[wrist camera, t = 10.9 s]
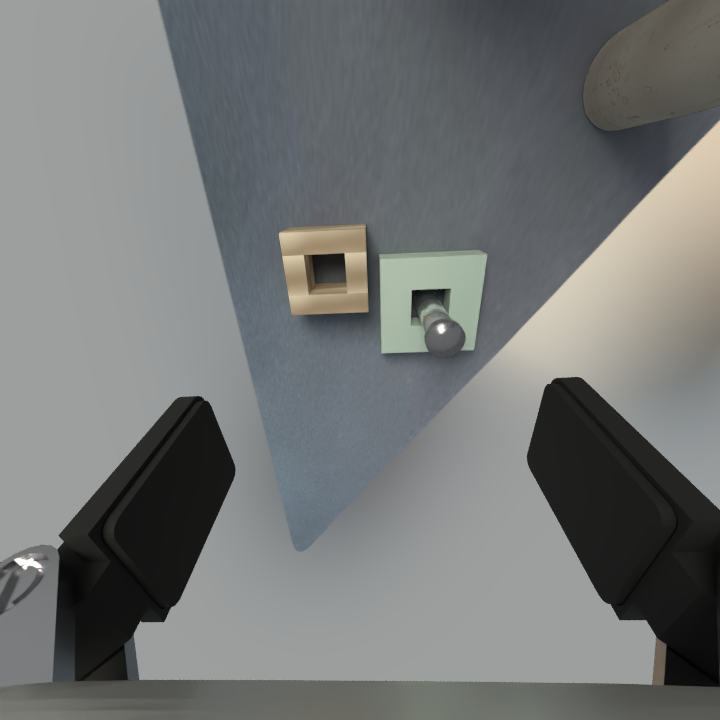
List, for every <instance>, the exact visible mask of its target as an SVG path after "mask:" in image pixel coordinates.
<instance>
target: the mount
mask: <svg viewBox="0 0 720 720" xmlns="http://www.w3.org/2000/svg"><path fill="white" fill-rule="evenodd" d="M279 239H280V245H281V251H282V257H283V263H284V270H285V276H286V282H287V288H288V294H289V301H290V307H291V313H292V315H307V314H333V313H358V312H368V277H367V250H366V224H354V225H334V226H315V227H295V228H288V229H286V230H284V231H282V232H280V233H279ZM337 253H345V267H346V281H347V282H338V283H315V278H314V269H313V261H312V255H316V254H337Z"/></svg>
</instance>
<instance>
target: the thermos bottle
mask: <svg viewBox="0 0 720 720" xmlns="http://www.w3.org/2000/svg"><path fill="white" fill-rule="evenodd" d="M583 104H584V109H585V112H586V114H587V117H588V118H589V120H590V121H591V122H592V123H593V124H594V125H595V126H597V127H598V128H600V129H603V130H608V131H616V130H622V129H627V128H631V127H636V126H640V125H644V124H648V123H652V122H657V121H662V120H666V119H670V118H675V117H679V116H684V115H688V114H692V113H696V112H700V111H703V110H707V109H710V108H713V107H717V106H720V0H669V1H667V2H666V3H664V4H663V5H661V6H659V7H658V8H656V9H654V10H653V11H651V12H650V13H648V14H646V15H645V16H643V17H642V18H640V19H638V20H637V21H635V22H634V23H632V24H630V25H629V26H627V27H625V28H624V29H622V30H621V31H619V32H617V33H616V34H615V35H614V36H613V37H612V38H610V39H609V40H608V41H607V42H606V44H605V45H604V46H603V47H602V48H601V49H600V51H599V52H598V54H597V55H596V57H595V58H594V60H593V62H592V64H591V66H590V68H589V70H588V73H587V77H586V80H585V84H584V90H583Z"/></svg>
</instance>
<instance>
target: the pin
mask: <svg viewBox="0 0 720 720" xmlns="http://www.w3.org/2000/svg"><path fill="white" fill-rule="evenodd" d="M414 305H415V308H416V310H417V313H418V315H419V318H420V320H421V323H422V326H423V328H424V331H425V334H424V342H425V344H426V347H427V349H428V351H429V352H430V353H431V354H432V355H434V356H436V357H439V358H448V357H452V356H454V355H456V354H457V353H458V352H459V351H460V350H461V349H462V348H463V346H464V344H465V340H466V336H465V332H464V330H463V329H462V327H461V326H460V324H459V323H458V322H456V321H455V320H453V319H451V318H450V316H449V315H448V313H447V311H446V310H445V308H444V307H443V305H442V304H441V302H440V300H439V299H438V297H437V296H436V294H435V293H434V292H433V291H431V290H428V289H425V290H421V291H420V292H418V293H417V294H416V296H415V298H414Z"/></svg>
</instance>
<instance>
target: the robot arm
mask: <svg viewBox="0 0 720 720" xmlns="http://www.w3.org/2000/svg"><path fill="white" fill-rule="evenodd" d="M527 462H528V465H529V468H530V470H531V472H532V474H533V475H534V477H535V479H536V481H537V483H538V485H539V486H540V488H541V490H542V492H543V494H544V495H545V497H546V499H547V501H548V503H549V505H550V507H551V508H552V510H553V512H554V514H555V516H556V517H557V519H558V521H559V523H560V525H561V527H562V529H563V530H564V532H565V534H566V536H567V538H568V540H569V541H570V543H571V545H572V547H573V549H574V551H575V552H576V554H577V556H578V558H579V560H580V562H581V563H582V565H583V567H584V569H585V571H586V572H587V574H588V576H589V578H590V580H591V582H592V584H593V585H594V587H595V589H596V591H597V592H598V594H599V596H600V597H601V598H602V600H603V601H604V602H606V603H608V604H611V606H612V608H613V609H614V611H615V613H616V615H617V616H618V618H619V620H647V622H648V624H649V625H650V627H651V628H652V630H653V632H654V633H655V635H656V647H655V659H654V670H653V671H654V672H653V682H652V685H638V684H597V683H591V684H590V683H520V682H518V683H517V682H515V683H514V682H433V681H431V682H430V681H303V680H139V674H138V666H137V658H136V650H135V642H134V632H135V630H136V628H137V625H138V624H139V622H140V621H141V622H164V621H165V619H166V617H167V615H168V612H169V610H170V608H171V607H173V606H175V605H176V603H177V602H178V601H179V600H180V597H181V596H182V593H183V591H184V589H185V587H186V584H187V582H188V580H189V578H190V575H191V573H192V571H193V568H194V566H195V564H196V562H197V560H198V558H199V555H200V553H201V551H202V549H203V546H204V544H205V542H206V540H207V537H208V535H209V533H210V530H211V528H212V526H213V524H214V522H215V520H216V517H217V515H218V513H219V511H220V508H221V506H222V504H223V501H224V499H225V497H226V495H227V493H228V490H229V488H230V486H231V484H232V481H233V479H234V476H235V465H234V462H233V460H232V457H231V454H230V452H229V450H228V447H227V445H226V442H225V440H224V437H223V435H222V432H221V430H220V427H219V425H218V422H217V420H216V417H215V415H214V412H213V410H212V407H211V405H210V403H209V402H208V401H205V400H204V399H203V398H202V397H200V396H193V397H179V398H177V399H176V400H175V401H174V402H173V403H172V404H171V406H170V407H169V408H168V409H167V410H166V411H165V413H164V414H163V415H162V416H161V417H160V418H159V420H158V421H157V422H156V423H155V424H154V425H153V427H152V428H151V429H150V430H149V431H148V432H147V434H146V435H145V436H144V437H143V438H142V439H141V440H140V442H139V443H138V444H137V445H136V447H134V449H133V450H132V451H131V452H130V453H129V454H128V456H127V457H126V458H125V459H124V460H123V461H122V462H121V464H120V465H119V466H118V467H117V468H116V469H115V471H114V472H113V473H112V474H111V475H110V476H109V478H108V479H107V480H106V481H105V482H104V483H103V484H102V486H101V487H100V488H99V489H98V490H97V491H96V493H95V494H94V495H93V496H92V497H91V498H90V500H89V501H88V502H87V503H86V504H85V505H84V507H83V508H82V509H81V510H80V511H79V512H78V514H77V515H76V516H75V517H74V518H73V519H72V520H71V522H70V523H69V524H68V525H67V526H66V527H65V529H64V530H63V531H62V532H61V533H60V535H59V536H60V538H61V539H62V540H63V541H64V543H63V544H62V545H61V546H60V547H59V548H58V550H57V549H56V548H54V547H53V546H50V545H40V546H35V547H30V548H27V549H25V550H23V551H20V552H18V553H16V554H14V555H12V556H11V557H9V558H7V559H5V560H4V561H2V562H0V720H720V510H719V509H718V508H717V507H716V506H715V505H714V504H713V503H712V502H710V500H709V499H708V498H707V497H706V496H704V495H703V494H702V493H701V492H700V491H699V490H698V489H697V488H696V487H695V486H694V485H693V484H692V483H691V482H690V481H689V480H688V479H687V478H686V477H684V475H683V474H681V473H680V472H679V471H678V470H677V469H676V468H675V467H674V466H673V465H672V464H671V463H670V462H669V461H668V460H667V459H666V458H665V457H664V456H663V455H661V453H660V452H659V451H657V450H656V449H655V448H654V447H653V446H652V445H651V444H650V443H649V442H648V441H647V440H646V439H645V438H644V437H643V436H642V435H641V434H640V433H639V432H637V431H636V429H634V428H633V427H632V426H631V425H630V424H629V423H628V422H627V421H626V420H625V419H624V418H623V417H622V416H621V415H620V414H619V413H618V412H617V411H616V410H615V409H614V408H613V407H611V406H610V405H609V404H608V403H607V402H606V401H605V400H604V399H603V398H602V397H601V396H600V395H599V394H598V393H597V392H596V391H595V390H594V389H592V387H591V386H590V385H588V384H587V383H586V382H585V381H584V380H583V379H582V378H579V377H571V378H556V379H554V380H553V381H552V382H551V384H547V385H546V387H545V389H544V393H543V397H542V400H541V404H540V408H539V412H538V416H537V420H536V423H535V427H534V431H533V435H532V438H531V442H530V446H529V450H528V454H527Z"/></svg>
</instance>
